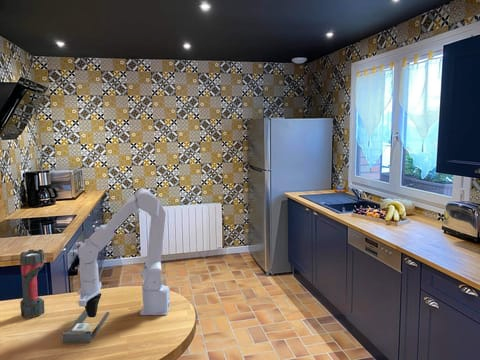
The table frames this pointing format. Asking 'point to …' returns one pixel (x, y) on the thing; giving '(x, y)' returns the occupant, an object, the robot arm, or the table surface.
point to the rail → (81, 335)
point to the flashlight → (31, 283)
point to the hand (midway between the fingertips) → (92, 316)
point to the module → (81, 327)
